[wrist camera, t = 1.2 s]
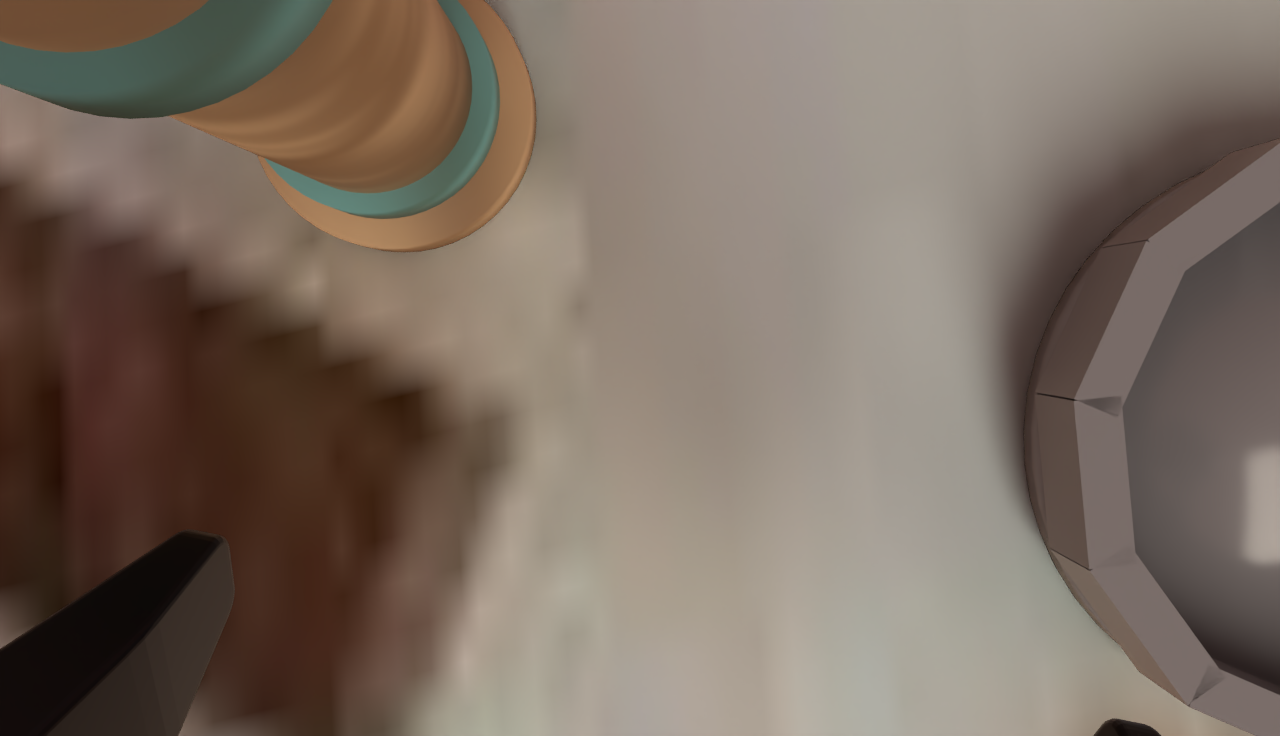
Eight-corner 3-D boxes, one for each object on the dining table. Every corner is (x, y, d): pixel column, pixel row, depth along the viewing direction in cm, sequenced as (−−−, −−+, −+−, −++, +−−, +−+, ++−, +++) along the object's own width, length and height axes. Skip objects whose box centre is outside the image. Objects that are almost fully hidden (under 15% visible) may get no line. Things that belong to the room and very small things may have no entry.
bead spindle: (376, 305, 23) (-33, 278, 9) (214, 89, 23) (-464, -282, 9) (590, 145, 23) (507, -133, 9) (428, -74, 23) (83, -717, 9)
